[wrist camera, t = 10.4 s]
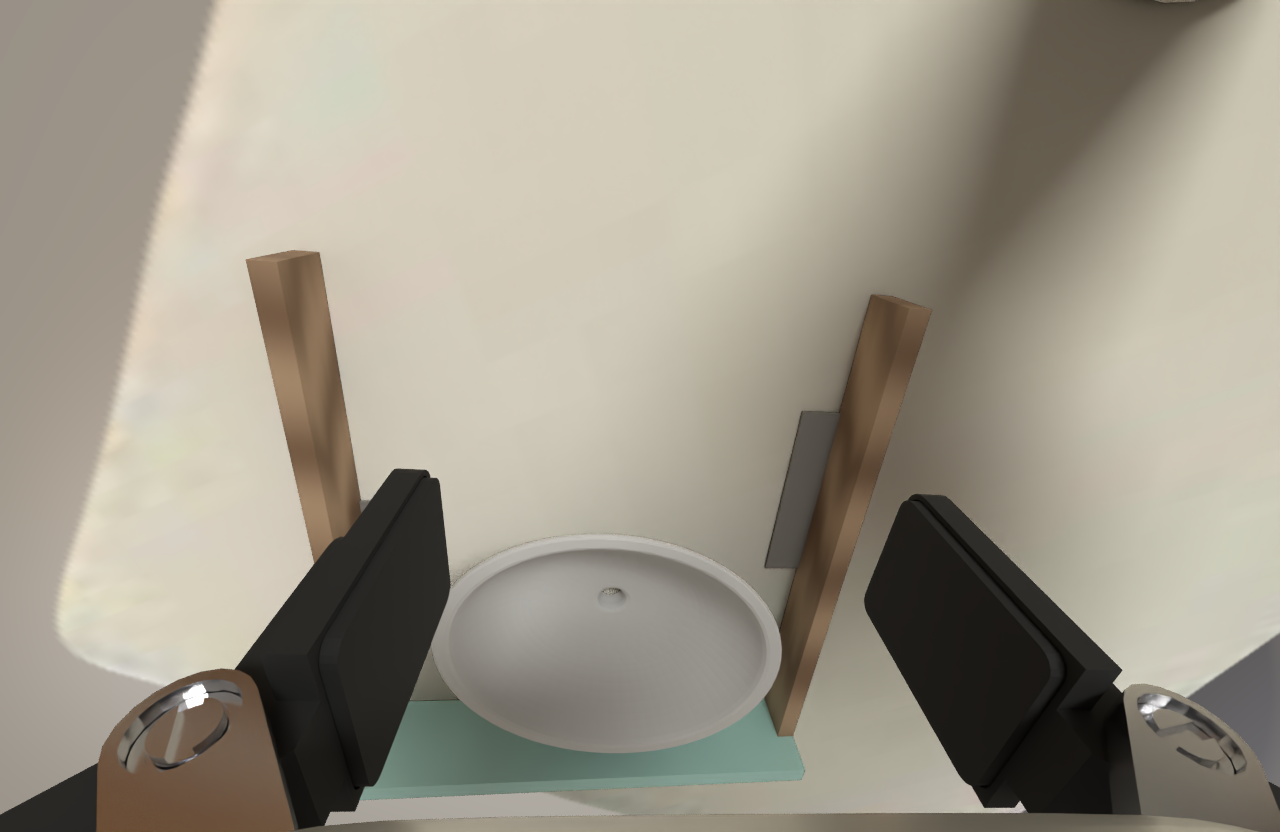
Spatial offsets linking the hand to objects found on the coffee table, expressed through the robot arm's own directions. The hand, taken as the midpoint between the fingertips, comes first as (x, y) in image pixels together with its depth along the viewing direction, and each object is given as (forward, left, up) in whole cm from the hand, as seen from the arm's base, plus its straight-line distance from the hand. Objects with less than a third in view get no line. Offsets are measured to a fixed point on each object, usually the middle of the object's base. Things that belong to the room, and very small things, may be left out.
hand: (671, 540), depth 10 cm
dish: (+14, 0, -14) cm, 20 cm away
